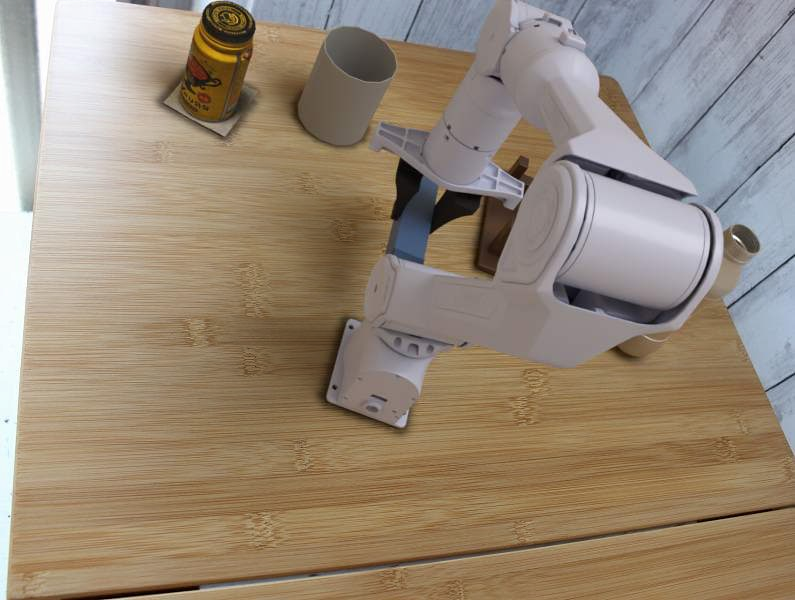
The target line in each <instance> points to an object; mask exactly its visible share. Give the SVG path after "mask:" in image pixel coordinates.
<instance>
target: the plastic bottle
mask: <svg viewBox="0 0 795 600" xmlns="http://www.w3.org/2000/svg"><path fill="white" fill-rule="evenodd" d="M722 231H723V258H722V263H721V267H720V270H719V273H718V275H717V277H716V279H715V281H714V283H713V285H712V287H711V288H710V290H709V291H708V292H707V293H706V295H705V296H704V298H703V299H702V300H701V301H700V303H699V304H698V305H697V307H696V308H695V309H694V310H693V312H692V313H691V314H690V316H689V317H688V318H687V319H686V321H688V320H689V319H690V318H692V317H693V316H694V315H696V314H697V313H699V312H701V311H702V310H703V309H705V308H707V307H709V306H711V305H712V304H715V303H716V302H718V301H720V300H721V299H724V298H726V297H727V296H728V295H730V294H731V293H733V291H734V290H735V289H736V287H737V285H738V284H739V281H740V277H741V274H742V268H743V266H746V265H747V264H749V263H750V262H751V261H752V259H753V258H755V257H756V256H757V255H758V254H760V252H761V250H762V244H761V241H760V239H759V236H758V235H757V234H756V233H755V231H753V230H752V229H751V228H750V227H748V226H747V225H745V224H743V223H739V222H738V223H734V224H730V226H729V227H728V228H727V229H724V230H722ZM674 333H675V331H667V332H660V333H652V334H643V335H638V336H634V337H632V338H630V339H628V340H626V341H624V342H622V343H620V344H618V345H616V347H617V348H618V349H619V350H621V352H623V353H625V354H626V355H627V356H628V355H629V356H631V357H637V358H644V357H647V356H650V355H652V354H654V353H656V352H658V351H659V350H660V349H661V348H662V347H663V346H664V345H665V344H666V343H667V341H668V340H669V339H670V337H671V335H672V334H674Z"/></svg>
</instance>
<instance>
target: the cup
mask: <svg viewBox="0 0 795 600" xmlns="http://www.w3.org/2000/svg"><path fill="white" fill-rule="evenodd" d="M398 66H399V64H398V58H397V54H396V53H395V51H394V50H393V49H392V47H391V46H390V44H389V43H388V42H386V41H385V40H384V39H383V38H382V37H380V36H378V34H376V33H375V32H372V31H370V30H367V29H366V28H362V27H360V26H353V25H340V26H337V27H335V28H332V29H329V31H328V33H327V34H326V35H325V37H324V39H323V41H322V44H321V46H320V49H319V51H318V54H317V56H316V59H315V61H314V64H313V66H312V69H311V71H310V72H309V73H310V74H309V76H308V78H307V80H306V84H305V85H304V88H303V91H302V93H301V95H300V98H299V101H298V103H297V115H298V119H299V120H300V122H301V124H302V125H303V127H304V128H305V130H306V131H307V132H308V133H310V134H311V135H312V136H314V137H315V138H317V139H318V140H319V141H322V142H325V143H328V144H330V145H333V146H352V145H353V144H355V143H357V142H359V141H362V139H363V137H364V135H365V133H366V131H367V129H368V128H369V126H370V123H371V121H372V120H373V118H374V116H375V114H376V112H377V111H378V108H379V107H380V105H381V102H382V100H383V98H384V96H385V95H386V92H387V90H388V89H389V87H390V85H391V82H392V81H393V79H394V77H395V75H396V73H397V72H398V69H399V67H398Z"/></svg>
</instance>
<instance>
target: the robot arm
mask: <svg viewBox="0 0 795 600" xmlns="http://www.w3.org/2000/svg"><path fill="white" fill-rule="evenodd" d="M586 46H587V42H586V41H585V39H584V38H583V37H581V36H579V34H578V31H577V30H575V28H573V24H572V22H571V21H570V19H568V18H565V17H562V16H559V15H557V14H554V13H552V12H549V11H547V10H544V9H541V8H539V7H536V6H533V5H531V4H529V3H526V2H523V1H521V0H496V2H495V3H494V4H493V6H492V7H491V8H490V10H489V12H488V13H487V16H486V18H485V20H484V22H483V24H482V26H481V30H480V33H479V35H478V39H477V43H476V47H475V54H474V55H475V56H474V61H473V62H472V64H471V66H470V67H469V69H468V71H467V73H466V74H465V76H464V77H463V78H462V80H461V82H460V84H459V85H458V86H457V89H456V90H455V92H454V94H453V95H452V97H451V99H450V101H449V102H448V103H447V105H446V107H445V109H444V110H443V111H442V114H441V115H440V117H439V118H438V120H437V122H436V124H435V125H434V127H433V128H432V130H425V129H419V128H412V127H407V126H400V125H395V124H393V123H389V122H386V121H384V120H381V119H379V120H378V122H377V124H376V126H375V128H374V130H373V132H372V135H371V137H370V141H369V143H368V147H367V149H369V150H371V151H372V152H375V153H380V152H381V151H382V150H383V151H385V152H388V153H390V154H392V155H394V156H397V157H399V160H398V164H397V168H396V172H395V182H394V183H395V190H396V191H395V193H396V195H395V201H394V202H393V205H392V208H391V214H390V217H389V218H390V219H391V220H392V221H393V220H395V221H397V220H398V218H399V217H400V216H401V215H402V213H403V211H404V209H405V207H406V205H407V204H408V203H409V201H410V200H411V199H412V198H413V197H414V195H415V194H417V193H418V192H419V189H420V184H421V180H422V177H423V176H424V175H425V176H426V177H427V178H429V179H430V180H431V181H432V182H434V183H435V184H437V185H438V186H439V188H442V189H445V191H444V192H443V194H442V195H441V196H440V197H439V199H438V200H437V201H436V203H435V208H434V213H433V218H432V223H431V227H430V232H429V236H430V235H432V234H433V233H435V232H436V231H437V230H438V229H440V228H442V227H443V226H445V225H446V224H448V223H451V222H452V221H454V220H457V219H460V218H463V217H470V216H473V215H475V213H476V212H477V211H478V210H479V209H480V207H481V201H482V198H483V197H484V196H487V197H488V196H493V197H495V198H497V199H500V200H502V201H503V206H504V207H506V208H508V209H511V210H514V208H515V207H516V206H517V205H518V203H519V202H520V201H521V200H522V202H521V204H520V207H519V210H518V213H517V217H516V220H515V222H514V225H513V227H512V229H511V232H510V234H509V237H508V239H507V242H506V244H505V247H504V249H503V252H502V254H501V256H500V259H499V261H498V265H497V271H496V273H495V276H494V275H493V278H492V280H491V279H483V278H480V277H471V276H466V275H462V274H459V273H456V272H451V271H447V270H444V269H440V268H436V267H433V266H430V265H425V264H423V265H422V264H418V263H415V262H411V261H407V260H404V259H400V258H397V256H395V255H392V254H387V255H385V254H384V256H382V257H381V258H380V259H378V260H377V262H375V264H374V266H373V268H372V270H371V273H370V274H369V278H368V281H367V284H366V288H365V292H364V298H363V315H364V318H363V320H362V321H359V320H357V319H354V318H349V319H347V321H346V323H345V327H344V330H343V334H342V338H341V341H340V345H339V348H338V352H337V356H336V360H335V363H334V367H333V370H332V373H331V378H330V381H329V385H328V389H327V392H326V396H325V399H326V401H327V402H328V403H330V404H333V405H336V406H339V407H342V408H343V409H347V410H350V411H352V412H355V413H358V414H361V415H363V416H366V417H368V418H371V419H374V420H376V421H379V422H382V423H384V424H387V425H390V426H393V427H396V428H397V429H403V428H405V426H406V425H407V421H408V417H409V416H408V415H409V412H410V408H411V407H412V406H413V405H414V404H415V403H416V402H417V401H418V400H419V399H420V395H421V393H422V388H423V383H424V380H425V376H426V373H427V370H428V368H429V366H430V365H431V363H432V362H433V360H434V359H435V358H436V356H437V355H438V354H439V353H449V352H450V351H452V349H453V348H454V347H455V346H456V347H457V348H460V349H463V350H467V349H470V348H471V347H473V346H474V345H475V346H478V347H482V348H485V349H488V350H491V351H495V352H498V353H500V354H503V355H507V356H510V357H513V358H517V359H520V360H524V361H527V362H532V363H536V364H539V365H544V366H548V367H551V368H552V367H553V368H557V369H561V370H568V369H573V368H575V367H577V366H579V365H581V364H583V363H585V362H587V361H589V360H591V359H593V358H595V357H597V356H599V355H601V354H602V353H604V352H607V351H608V350H610V349H613V348H614V347H617V345H618V344H620V343H622V342H624V341H626V340H628V339H630V338H632V337H634V336H638V335H643V334H652V333H660V332H667V331H674V332H676V331H679V330H680V329H681V328H682V326H683V324H684V323H685V322H686V321H687V320H688V319H687V318H688V317H689V316H690V314H691V313H692V312H693V310H694V309H695V308H696V307H697V305H698V304H699V303H700V301H701V300H702V299H703V298H704V296H705V295H706V293H707V292H708V291H709V290H710V288H711V287H712V285H713V283H714V281H715V279H716V277H717V275H718V273H719V270H720V267H721V263H722V258H723V231H724V230H723V227H722V223H721V220H720V219H719V217H718V215H717V214H716V213H715V211H714V210H712V208H710V207H708V206H707V205H704V204H701V203H695V202H688V203H687V202H685V201H682V200H685V199H687V198H693V197H695V198H696V197H697V198H698V197H699V193H698V192H697V189H696V187H695V186H694V184H693V182H692V181H691V180H690V179H689V178H688V177H686V176H685V175H684V174H682V173H681V172H680V171H679V170H678V169H677V168H675V167H674V166H673V165H671V164H670V163H669V162H668V161H666V160H665V159H664V158H663V157H661V155H659V154H658V153H656V152H655V151H654V150H652V149H651V148H650V147H649V146H648V145H647V144H646V143H645V142H644V141H643V140H642V139H641V138H640V137H639V136H637V134H636V133H635V132H634V131H633V130H632V129H631V128H630V127H629V126H628V125H627V124H626V123H625V122H624V121H623V120H622V119H621V118H620V117H619V116H618V115H617V114H616V113H615V112H614V111H613V110H612V109H611V108H610V107H609V106H608V105H607V104H606V103H605V101H603V100H602V99H601V97H599V94H600V93H599V92H600V76H599V73H598V69H597V68H596V66H595V64H594V63H593V62H592V61H591V60H590V59H589V57H588V56H587V54H585V52H584V50H585V48H586ZM522 118H523V119H524V120H525V121H526V123H528V125H530V126H531V127H533V128H536V129H538V130H540V131H545V132H548V134H549V136H550V138H551V141H552V145H553V146H554V148H555V150H553V152H551V153H550V154H549V156H548V157H547V158H546V159H545V161H544V162H543V164H542V165H541V166H540V168H539V169H538V171H537V172H536V174H535V175H534V177H533V178H534V179H533V181H532V183H531V184H530V186H529V188H528V189H527V191H526V193H525V195H524V197H523V192H524V183H523V182H521V181H519V180H517V179H515V178H514V177H512V176H510V175H509V174H508V173H506V172H505V171H506V170H505V171H503V170H504V169H503V168H502V167H500V166H498V165H497V164H496V163H494V161H492V160H493V158H494V157H495V155H496V154H497V153H498V152H499V150H500V149H501V148H502V146H503V144H504V143H505V141H506V140H507V139H508V138H509V136H510V134H511V133H512V132H513V130H514V129H515V127H516V126H517V125H518V123H519V122H520V120H521V119H522ZM502 169H503V170H502ZM522 198H523V199H522ZM686 319H687V320H686Z"/></svg>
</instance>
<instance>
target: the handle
mask: <svg viewBox="0 0 795 600" xmlns="http://www.w3.org/2000/svg"><path fill="white" fill-rule="evenodd" d="M439 188H440V186H438V185H437V184H435V183H434V182H432V181H431V180H430V179H429V178H427V177H426V176H425V175H424V176H423V177H422V180H421V184H420V189H419V192H418V193H417V194H415V195H414V197H413V198H412V199H411V200H410V201H409V203H408V204H407V205H406V207H405V209H404V211H403V213H402V215H401V216H400V217H399V218H398V220H397V221H395V220H393V219H392V224H391V228H390V232H389V236H388V237H389V238H388V239H387V245H386V249H385V254H384V256H385V255H387V254H392V255H395V256H397V258H400V259H404V260H407V261H411V262H415V263H418V264H422V265H425V256H426V252H427V247H428V241H429V236H430V235H429V232H430V227H431V223H432V218H433V213H434V208H435V205H436V203H437V197H438V193H439Z"/></svg>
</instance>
